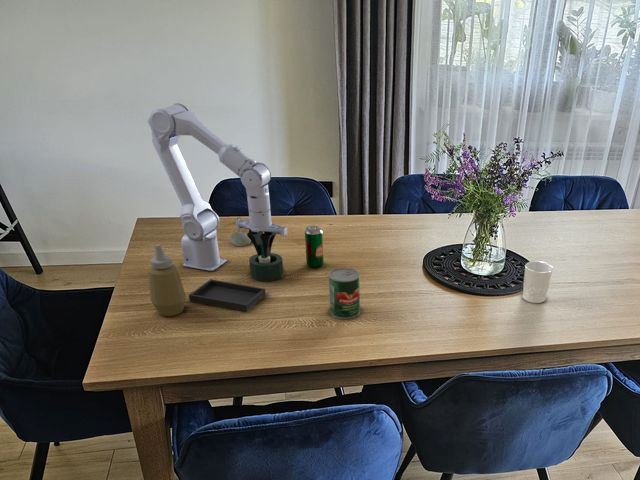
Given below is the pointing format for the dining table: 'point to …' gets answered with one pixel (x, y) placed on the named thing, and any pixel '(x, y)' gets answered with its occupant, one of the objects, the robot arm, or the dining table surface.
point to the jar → (266, 268)
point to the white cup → (536, 281)
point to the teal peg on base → (263, 256)
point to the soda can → (314, 247)
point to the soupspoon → (240, 237)
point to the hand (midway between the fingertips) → (264, 255)
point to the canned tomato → (344, 293)
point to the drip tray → (227, 295)
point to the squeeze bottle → (165, 284)
